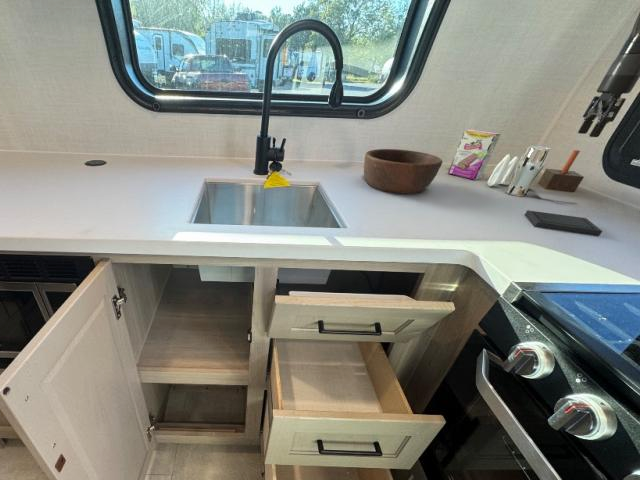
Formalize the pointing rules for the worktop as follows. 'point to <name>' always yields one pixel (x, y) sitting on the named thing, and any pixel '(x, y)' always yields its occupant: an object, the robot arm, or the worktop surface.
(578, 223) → the screen
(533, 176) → the beer glass
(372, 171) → the wooden bowl
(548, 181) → the stand
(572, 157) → the stylus
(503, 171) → the shaker set
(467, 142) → the candy bar box
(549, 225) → the tablet
